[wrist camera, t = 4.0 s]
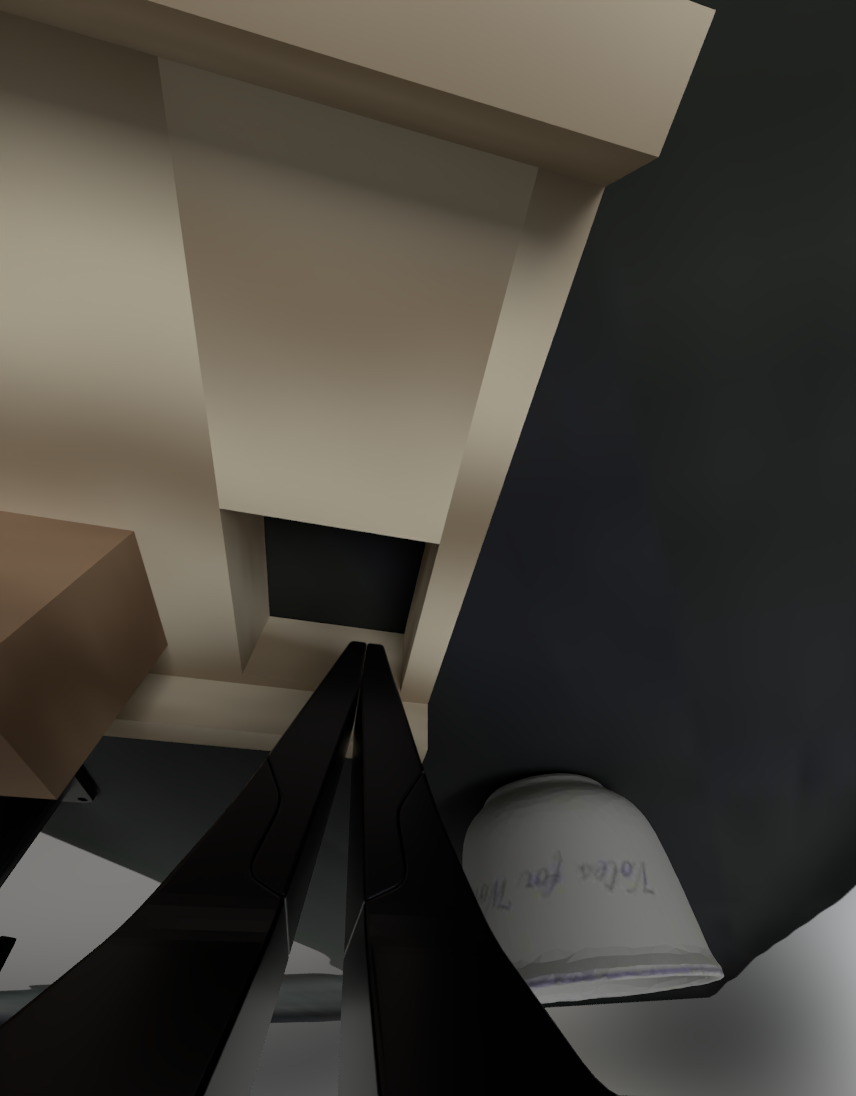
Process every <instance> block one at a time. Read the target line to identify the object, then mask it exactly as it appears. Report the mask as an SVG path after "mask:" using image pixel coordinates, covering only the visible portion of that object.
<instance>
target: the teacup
mask: <svg viewBox="0 0 856 1096" xmlns="http://www.w3.org/2000/svg"><path fill="white" fill-rule="evenodd" d="M462 857H463V870H464V873H465V875H466V877H467V879H468V881H469V884H470V886H471V888H472V890H473V892H474V895H475V897H476V899H477V901H478V904H479V906H480V908H481V910H482V912H483V914H484V916H485V918H486V920H487V922H488V924H489V926H490V928H491V930H492V932H493V934H494V935H495V937H496V939H497V941H498V942H499V944H500V946H501V947H502V949H503V951H504V952H505V954H506V955H507V956H508V958H509V959H510V961H511V962H512V963H513V965H514V966H515V968H516V969H517V970H518V972H519V973H520V975H521V976H522V977H523V979H524V980H525V982H526V983H527V984H528V986H529V987H530V989H531V990H532V991H533V993H534V994H535V996H536V997H537V998H538V1000H539V1001H540V1003H553V1002H557V1001H579V1000H585V999H590V998H599V997H619V996H628V995H636V994H644V993H652V992H657V991H664V990H670V989H675V988H684V987H688V986H695V985H702V984H707V983H710V982H713V981H717V980H720V979H722V978H723V977H724V974H723V971H722V969H721V966H720V965H719V964H718V962H717V961H716V960H715V958H714V957H713V955H712V954H711V952H710V950H709V948H708V946H707V943H706V941H705V939H704V936H703V934H702V932H701V930H700V927H699V925H698V923H697V921H696V918H695V916H694V914H693V912H692V909H691V907H690V905H689V903H688V900H687V898H686V896H685V894H684V891H683V889H682V887H681V885H680V882H679V880H678V878H677V876H676V874H675V872H674V870H673V868H672V866H671V863H670V861H669V859H668V857H667V855H666V853H665V851H664V849H663V847H662V845H661V843H660V841H659V839H658V837H657V835H656V834H655V832H654V830H653V829H652V827H651V825H650V824H649V822H648V821H647V819H646V818H645V817H644V815H643V814H642V813H641V812H640V811H639V810H638V809H637V808H636V807H635V806H634V805H633V804H632V803H631V802H630V801H628V800H627V799H626V798H624V797H622V796H620V795H619V794H617V793H615V792H613V791H611V790H608V789H606V788H604V787H603V786H602V785H601V784H600V783H598V782H597V781H595V780H593V779H590V778H588V777H585V776H581V775H576V774H568V773H556V774H545V775H538V776H532V777H528V778H525V779H521V780H518V781H515V782H512V783H509V784H507V785H505V786H502V787H501V788H499V789H497V790H496V791H495V792H494V793H492V794H491V796H490V797H489V798H488V799H487V800H486V802H485V804H484V807H483V809H482V810H481V811H480V812H479V813H478V814H477V815H476V816H475V818H474V819H473V821H472V822H471V824H470V826H469V828H468V830H467V833H466V835H465V840H464V845H463V856H462Z"/></svg>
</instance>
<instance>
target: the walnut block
mask: <svg viewBox="0 0 856 1096" xmlns="http://www.w3.org/2000/svg"><path fill="white" fill-rule="evenodd" d="M167 646H168V643H167V640H166V636H165V633H164V630H163V626H162V623H161V620H160V616H159V613H158V610H157V606H156V603H155V600H154V596H153V593H152V589H151V586H150V583H149V579H148V576H147V573H146V569H145V566H144V563H143V559H142V556H141V553H140V549H139V546H138V542H137V539H136V536H135V532H134V531H130V530H124V529H117V528H111V527H104V526H98V525H91V524H84V523H78V522H71V521H65V520H58V519H51V518H45V517H38V516H32V515H25V514H19V513H12V512H5V511H0V796H13V797H27V798H41V799H54V800H57V799H58V797H59V796H60V795H61V793H62V792H63V790H64V789H65V788H66V786H67V785H68V783H69V782H70V781H71V779H72V778H73V776H74V775H75V774H76V772H77V771H78V770H79V768H80V767H81V765H82V764H83V763H84V761H85V760H86V758H87V757H88V756H89V754H90V753H91V751H92V750H93V749H94V747H95V746H96V744H97V743H98V742H99V740H100V739H101V738H102V736H103V735H104V733H105V732H106V731H107V729H108V728H109V726H110V725H111V724H112V722H113V721H114V719H115V718H116V717H117V715H118V714H119V712H120V711H121V710H122V708H123V707H124V706H125V704H126V703H127V701H128V700H129V699H130V697H131V696H132V694H133V693H134V692H135V690H136V689H137V687H138V686H139V685H140V683H141V682H142V680H143V679H144V678H145V676H146V675H147V674H148V672H149V671H150V669H151V668H152V667H153V665H154V664H155V662H156V661H157V660H158V658H159V657H160V655H161V654H162V653H163V651H164V650H165V648H166V647H167Z"/></svg>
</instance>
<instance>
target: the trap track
mask: <svg viewBox="0 0 856 1096" xmlns="http://www.w3.org/2000/svg"><path fill="white" fill-rule="evenodd" d="M715 11H716V10H713V9H711V8H708V7H705V6H703V5H700V4H697V3H694V2H692V1H689V0H0V511H5V512H12V513H19V514H25V515H32V516H38V517H45V518H51V519H58V520H65V521H71V522H78V523H84V524H91V525H98V526H104V527H111V528H117V529H124V530H130V531H134V532H135V536H136V539H137V542H138V546H139V549H140V553H141V556H142V559H143V563H144V566H145V569H146V573H147V576H148V579H149V583H150V586H151V589H152V593H153V596H154V600H155V603H156V606H157V610H158V613H159V616H160V620H161V623H162V626H163V630H164V633H165V636H166V640H167V643H168V646H167V647H166V648H165V650H164V651H163V653H162V654H161V655H160V657H159V658H158V660H157V661H156V662H155V664H154V665H153V667H152V668H151V669H150V671H149V672H148V674H147V675H146V676H145V678H144V679H143V680H142V682H141V683H140V685H139V686H138V687H137V689H136V690H135V692H134V693H133V694H132V696H131V697H130V699H129V700H128V701H127V703H126V704H125V706H124V707H123V708H122V710H121V711H120V712H119V714H118V715H117V717H116V718H115V719H114V721H113V722H112V724H111V725H110V726H109V728H108V729H107V731H106V732H105V733H104V735H103V736H113V737H124V738H135V739H146V740H157V741H168V742H179V743H190V744H200V745H211V746H222V747H233V748H244V749H255V750H266V751H271V750H272V749H273V748H274V746H275V745H276V744H277V742H278V741H279V739H280V738H281V737H282V735H283V734H284V733H285V731H286V730H287V728H288V727H289V726H290V724H291V723H292V721H293V720H294V719H295V717H296V716H297V715H298V713H299V712H300V710H301V709H302V708H303V706H304V705H305V704H306V702H307V701H308V699H309V698H310V697H311V695H312V694H313V692H314V691H315V690H316V688H317V687H318V686H319V684H320V683H321V681H322V680H323V679H324V677H325V676H326V675H327V673H328V672H329V670H330V669H331V668H332V666H333V665H334V663H335V662H336V661H337V659H338V658H339V657H340V655H341V654H342V652H343V651H344V650H345V648H346V647H347V646H348V644H349V643H350V642H351V641H359V642H365V643H366V644H369V643H375V644H381V645H383V646H384V648H385V651H386V654H387V657H388V661H389V664H390V667H391V670H392V673H393V676H394V679H395V682H396V685H397V688H398V691H399V695H400V698H401V701H402V704H403V707H404V710H405V713H406V716H407V719H408V722H409V725H410V729H411V732H412V735H413V738H414V741H415V744H416V747H417V750H418V753H419V756H420V759H421V763H423V760H424V757H425V755H426V752H427V750H428V701H429V698H430V696H431V693H432V690H433V687H434V684H435V681H436V678H437V675H438V672H439V669H440V666H441V663H442V661H443V658H444V655H445V652H446V649H447V646H448V643H449V640H450V637H451V634H452V631H453V628H454V626H455V623H456V620H457V617H458V614H459V611H460V608H461V605H462V602H463V599H464V596H465V593H466V591H467V588H468V585H469V582H470V579H471V576H472V573H473V570H474V567H475V564H476V561H477V558H478V556H479V553H480V550H481V547H482V544H483V541H484V538H485V535H486V532H487V529H488V526H489V523H490V521H491V518H492V515H493V512H494V509H495V506H496V503H497V500H498V497H499V494H500V491H501V489H502V486H503V483H504V480H505V477H506V474H507V471H508V468H509V465H510V462H511V459H512V456H513V454H514V451H515V448H516V445H517V442H518V439H519V436H520V433H521V430H522V427H523V424H524V421H525V419H526V416H527V413H528V410H529V407H530V404H531V401H532V398H533V395H534V392H535V389H536V386H537V384H538V381H539V378H540V375H541V372H542V369H543V366H544V363H545V360H546V357H547V354H548V351H549V349H550V346H551V343H552V340H553V337H554V334H555V331H556V328H557V325H558V322H559V319H560V316H561V314H562V311H563V308H564V305H565V302H566V299H567V296H568V293H569V290H570V287H571V284H572V281H573V279H574V276H575V273H576V270H577V267H578V264H579V261H580V258H581V255H582V252H583V249H584V246H585V244H586V241H587V238H588V235H589V232H590V229H591V226H592V223H593V220H594V217H595V214H596V211H597V209H598V206H599V203H600V200H601V197H602V194H603V191H604V188H605V187H606V186H607V185H609V184H611V183H613V182H615V181H616V180H618V179H620V178H622V177H624V176H625V175H627V174H629V173H631V172H633V171H634V170H636V169H638V168H640V167H642V166H643V165H645V164H647V163H649V162H651V161H652V160H654V159H656V158H658V157H659V155H660V152H661V150H662V147H663V144H664V142H665V139H666V137H667V134H668V132H669V129H670V126H671V124H672V121H673V119H674V116H675V114H676V111H677V108H678V106H679V103H680V101H681V98H682V96H683V93H684V91H685V88H686V85H687V83H688V80H689V78H690V75H691V73H692V70H693V67H694V65H695V62H696V60H697V57H698V55H699V52H700V50H701V47H702V44H703V42H704V39H705V37H706V34H707V32H708V29H709V26H710V24H711V21H712V19H713V16H714V14H715ZM264 516H269V517H276V518H282V519H288V520H294V521H300V522H306V523H313V524H319V525H325V526H331V527H337V528H343V529H349V530H356V531H362V532H368V533H374V534H380V535H386V536H393V537H399V538H405V539H411V540H417V541H423V542H426V544H425V548H424V553H423V557H422V561H421V565H420V570H419V574H418V578H417V582H416V586H415V591H414V595H413V599H412V603H411V608H410V612H409V616H408V620H407V624H406V629H405V633H404V634H400V633H392V632H385V631H377V630H370V629H362V628H355V627H347V626H340V625H332V624H324V623H317V622H309V621H302V620H294V619H287V618H279V617H272V616H270V613H269V597H268V581H267V564H266V548H265V532H264ZM366 648H367V647H366ZM365 654H366V653H365ZM364 661H365V660H364ZM363 667H364V666H363ZM362 673H363V672H362ZM361 679H362V678H361ZM359 692H360V691H359ZM358 698H359V697H358ZM357 704H358V703H357ZM356 710H357V709H356ZM355 717H356V715H355ZM354 724H355V721H354ZM353 733H354V727H353V731H352V735H351V739H350V743H349V746H348V750H347V753H346V757H345V758H352V752H353Z"/></svg>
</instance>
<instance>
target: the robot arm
mask: <svg viewBox="0 0 856 1096" xmlns="http://www.w3.org/2000/svg"><path fill="white" fill-rule="evenodd" d="M366 647H367V648H366ZM365 653H366V654H365ZM364 660H365V661H364ZM363 666H364V667H363ZM362 672H363V673H362ZM361 678H362V679H361ZM359 691H360V692H359ZM358 697H359V698H358ZM357 703H358V704H357ZM356 709H357V710H356ZM355 715H356V717H355ZM354 721H355V724H354ZM353 727H354V733H353V752H352V776H351V799H350V823H349V846H348V869H347V893H346V916H345V939H344V956H345V957H344V962H343V985H342V1009H341V1032H340V1055H339V1079H338V1080H339V1081H338V1096H624V1095H617V1094H615V1093H614V1092H612V1091H610V1090H609V1089H608V1088H606V1087H605V1086H604V1085H603V1084H602V1083H601V1082H600V1081H599V1080H598V1079H597V1078H595V1076H594V1075H593V1074H592V1073H591V1071H590V1070H589V1069H588V1068H587V1067H586V1065H585V1064H584V1063H583V1062H582V1060H581V1059H580V1058H579V1056H578V1055H577V1053H576V1052H575V1050H574V1049H573V1048H572V1046H571V1045H570V1043H569V1042H568V1041H567V1039H566V1038H565V1036H564V1035H563V1034H562V1033H561V1031H560V1029H559V1028H558V1027H557V1025H556V1024H555V1022H554V1021H553V1020H552V1018H551V1017H550V1016H549V1014H548V1013H547V1011H546V1010H545V1008H544V1007H543V1006H542V1004H541V1003H540V1001H539V1000H538V998H537V997H536V996H535V994H534V993H533V991H532V990H531V989H530V987H529V986H528V984H527V983H526V982H525V980H524V979H523V977H522V976H521V975H520V973H519V972H518V970H517V969H516V968H515V966H514V965H513V963H512V962H511V961H510V959H509V958H508V956H507V955H506V954H505V952H504V951H503V949H502V947H501V946H500V944H499V942H498V941H497V939H496V937H495V935H494V934H493V932H492V930H491V928H490V926H489V924H488V922H487V920H486V918H485V916H484V914H483V912H482V910H481V908H480V906H479V904H478V901H477V899H476V897H475V895H474V892H473V890H472V888H471V886H470V884H469V881H468V879H467V877H466V875H465V873H464V870H463V868H462V866H461V864H460V861H459V859H458V857H457V855H456V853H455V850H454V848H453V846H452V844H451V841H450V839H449V837H448V834H447V832H446V829H445V827H444V825H443V822H442V820H441V817H440V815H439V812H438V810H437V807H436V804H435V801H434V798H433V795H432V793H431V790H430V787H429V784H428V781H427V778H426V774H425V773H423V771H424V769H423V766H422V763H421V759H420V756H419V753H418V750H417V747H416V744H415V741H414V738H413V735H412V732H411V729H410V725H409V722H408V719H407V716H406V713H405V710H404V707H403V704H402V701H401V698H400V695H399V691H398V688H397V685H396V682H395V679H394V676H393V673H392V670H391V667H390V664H389V661H388V657H387V654H386V651H385V648H384V646H383V645H381V644H375V643H369V644H366V643H365V642H359V641H351V642H350V643H349V644H348V646H347V647H346V648H345V650H344V651H343V652H342V654H341V655H340V657H339V658H338V659H337V661H336V662H335V663H334V665H333V666H332V668H331V669H330V670H329V672H328V673H327V675H326V676H325V677H324V679H323V680H322V681H321V683H320V684H319V686H318V687H317V688H316V690H315V691H314V692H313V694H312V695H311V697H310V698H309V699H308V701H307V702H306V704H305V705H304V706H303V708H302V709H301V710H300V712H299V713H298V715H297V716H296V717H295V719H294V720H293V721H292V723H291V724H290V726H289V727H288V728H287V730H286V731H285V733H284V734H283V735H282V737H281V738H280V739H279V741H278V742H277V744H276V745H275V746H274V748H273V749H272V750H271V752H270V753H269V755H268V756H267V758H268V759H265V760H264V761H263V763H262V764H261V765H260V767H259V768H258V770H257V771H256V772H255V774H254V775H253V776H252V778H251V779H250V780H249V782H248V783H247V784H246V786H245V787H244V788H243V789H242V791H241V792H240V793H239V795H238V796H237V797H236V799H235V800H234V801H233V802H232V803H231V805H230V806H229V807H228V808H227V809H226V811H225V812H224V813H223V814H222V815H221V816H220V818H219V819H218V820H217V821H216V822H215V824H214V825H213V826H212V827H211V828H210V829H209V830H208V832H207V833H206V834H205V835H204V836H203V837H202V838H201V839H200V841H199V842H198V843H197V844H196V845H195V846H194V847H193V848H192V850H191V851H190V852H189V853H188V854H187V855H186V856H185V858H184V859H183V860H182V861H181V862H180V863H179V864H178V865H177V867H176V868H175V869H174V870H173V871H172V872H171V873H170V874H169V876H168V877H167V878H166V879H165V880H164V881H163V882H162V883H161V885H160V886H159V887H158V888H157V889H156V890H155V892H154V893H153V894H152V895H151V896H150V897H149V898H148V899H147V900H146V901H145V902H144V903H143V905H142V906H140V908H139V909H138V910H137V911H136V912H135V913H134V914H133V915H132V916H131V917H130V918H129V919H128V920H127V921H126V922H125V923H124V924H123V925H122V926H121V927H119V928H118V930H116V931H115V932H114V933H113V934H112V935H111V936H110V937H109V938H108V939H106V940H105V941H104V942H103V943H102V944H101V945H99V946H98V947H97V948H96V949H94V950H93V951H92V952H91V953H89V954H88V955H87V956H86V957H84V958H83V959H82V960H81V961H80V962H78V963H77V964H76V965H75V966H73V967H72V968H71V969H70V970H69V971H67V972H66V973H65V974H64V975H62V976H61V977H60V978H59V979H58V980H56V981H55V982H54V983H53V984H51V985H50V986H49V987H48V988H47V989H45V990H44V991H43V992H42V993H40V994H39V995H38V996H37V997H36V998H34V999H33V1000H32V1001H31V1002H29V1003H28V1004H27V1005H26V1006H25V1007H23V1008H22V1009H21V1010H20V1011H18V1012H17V1013H16V1014H15V1015H14V1016H12V1017H11V1018H10V1019H9V1020H7V1021H6V1022H5V1023H4V1024H3V1025H1V1026H0V1096H249V1095H250V1092H251V1089H252V1085H253V1081H254V1078H255V1074H256V1071H257V1067H258V1063H259V1060H260V1057H261V1053H262V1050H263V1046H264V1043H265V1039H266V1036H267V1032H268V1028H269V1025H270V1022H271V1018H272V1014H273V1011H274V1007H275V1004H276V1000H277V997H278V993H279V990H280V986H281V983H282V979H283V976H284V972H285V968H286V965H287V961H288V955H289V954H290V951H291V947H292V944H293V940H294V937H295V933H296V930H297V926H298V923H299V919H300V916H301V912H302V908H303V905H304V901H305V898H306V894H307V891H308V887H309V884H310V880H311V877H312V873H313V870H314V866H315V863H316V859H317V856H318V852H319V848H320V845H321V841H322V838H323V834H324V831H325V827H326V824H327V820H328V817H329V813H330V810H331V806H332V803H333V799H334V796H335V792H336V788H337V785H338V781H339V778H340V774H341V771H342V767H343V764H344V760H345V757H346V753H347V750H348V746H349V743H350V739H351V735H352V731H353ZM96 795H97V791H96V790H95V788H94V787H93V786H92V784H91V783H90V781H89V780H88V778H87V777H86V775H85V774H84V773H83V771H82V770H81V768H79V770H78V771H77V772H76V774H75V775H74V776H73V778H72V779H71V781H70V782H69V783H68V785H67V786H66V788H65V789H64V790H63V792H62V793H61V795H60V796H59V797H58V799H57V800H54V799H41V798H27V797H13V796H0V887H1V886H2V885H3V883H4V882H5V880H6V879H7V878H8V876H9V875H10V873H11V872H12V871H13V869H14V868H15V866H16V865H17V863H18V862H19V861H20V859H21V858H22V857H23V855H24V854H25V852H26V851H27V849H28V848H29V847H30V845H31V844H32V842H33V841H34V839H35V838H36V837H37V835H38V834H39V832H40V831H41V830H42V828H43V827H44V825H45V824H46V823H47V821H48V820H49V818H50V817H51V816H52V814H53V813H54V811H55V810H56V808H57V807H58V806H59V804H60V803H61V801H63V802H76V803H91V802H92V801H93V800H94V798H95V797H96ZM15 941H16V938H12V937H6V936H1V937H0V971H1V969H2V967H3V965H4V963H5V961H6V959H7V957H8V956H9V954H10V952H11V950H12V948H13V946H14V944H15ZM625 1096H627V1095H625Z"/></svg>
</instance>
